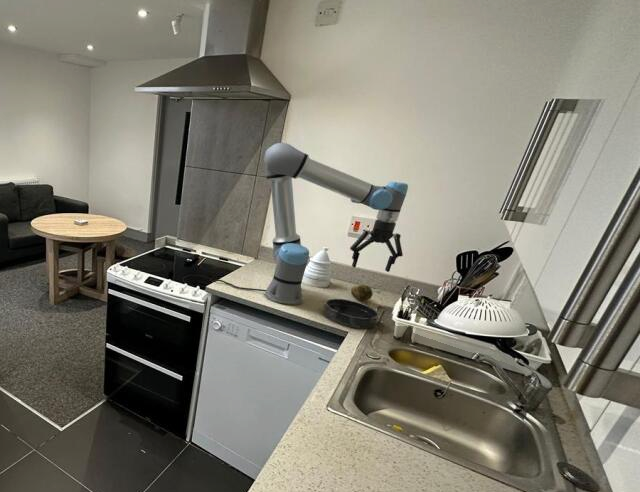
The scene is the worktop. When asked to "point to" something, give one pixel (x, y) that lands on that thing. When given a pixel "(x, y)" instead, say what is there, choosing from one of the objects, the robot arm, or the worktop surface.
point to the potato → (361, 292)
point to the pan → (350, 313)
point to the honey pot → (318, 270)
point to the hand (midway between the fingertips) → (370, 268)
